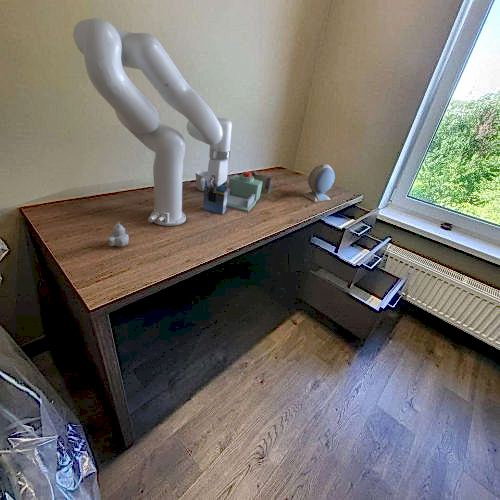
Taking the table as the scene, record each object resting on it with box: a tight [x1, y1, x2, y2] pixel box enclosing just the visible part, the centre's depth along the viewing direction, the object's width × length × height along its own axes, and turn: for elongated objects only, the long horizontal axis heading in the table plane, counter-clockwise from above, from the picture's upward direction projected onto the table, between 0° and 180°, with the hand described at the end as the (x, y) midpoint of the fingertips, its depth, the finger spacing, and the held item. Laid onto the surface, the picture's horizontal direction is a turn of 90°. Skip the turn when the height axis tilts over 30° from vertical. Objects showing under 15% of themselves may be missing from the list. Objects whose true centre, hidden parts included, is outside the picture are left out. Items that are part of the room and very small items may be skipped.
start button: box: [242, 171, 252, 178], centre depth 129 cm, size 4×4×2 cm
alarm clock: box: [302, 163, 336, 203], centre depth 144 cm, size 14×10×18 cm
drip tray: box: [226, 187, 257, 213], centre depth 124 cm, size 12×15×4 cm
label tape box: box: [202, 180, 227, 215], centre depth 112 cm, size 9×4×12 cm, turn 72°
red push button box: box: [228, 173, 263, 202], centre depth 132 cm, size 8×14×10 cm, turn 72°
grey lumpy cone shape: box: [106, 221, 130, 248], centre depth 81 cm, size 5×7×8 cm
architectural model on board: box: [251, 169, 275, 195], centre depth 142 cm, size 11×3×10 cm, turn 56°
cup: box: [195, 170, 208, 192], centre depth 131 cm, size 11×8×8 cm
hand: (217, 197), depth 112 cm, fingers open, 9 cm apart
